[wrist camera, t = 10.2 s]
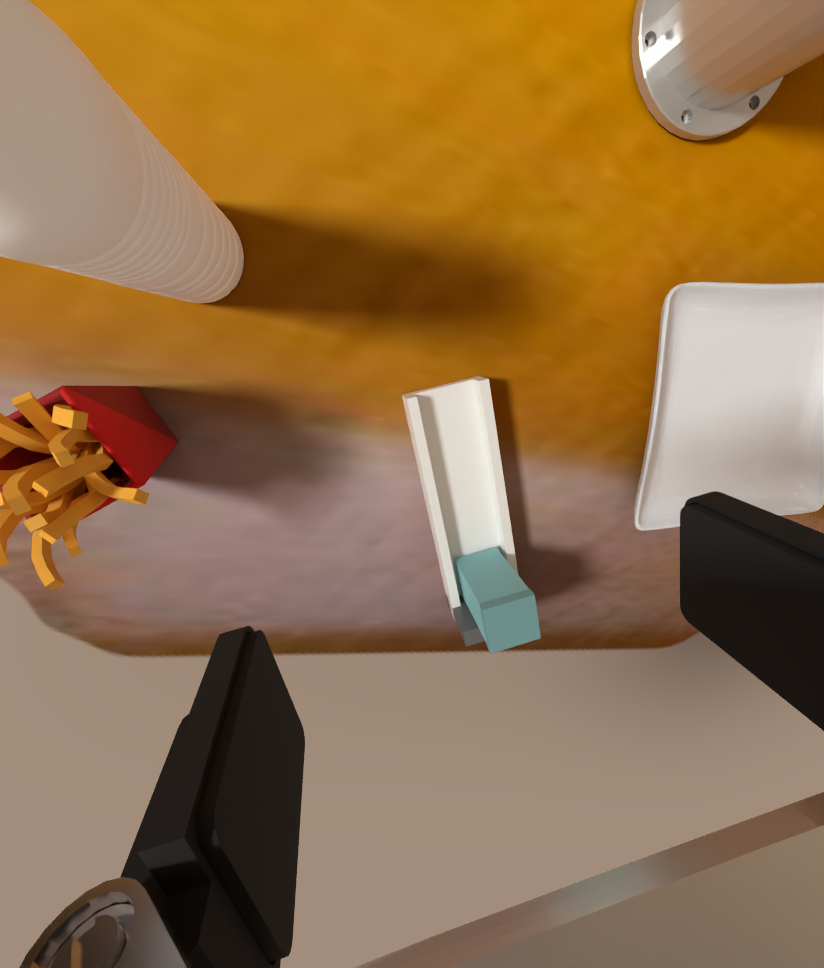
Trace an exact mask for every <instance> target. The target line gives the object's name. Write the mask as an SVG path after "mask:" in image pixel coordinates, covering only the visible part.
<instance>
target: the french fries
mask: <svg viewBox="0 0 824 968" xmlns="http://www.w3.org/2000/svg"><path fill="white" fill-rule="evenodd" d="M11 400H12V402H13V404H14V406H15V407H16V408H17V409H18V411H16V412H14V413H12V414H11V415H9V416H7V417H6V416H4V415H2V414H0V492H1V493H0V509H3V510H2V511H1V512H0V567H2V566H5V565H8V564H9V560H8V557H7V554H6V546H7V540H8V538H9V537H10V535H11V534H12V532H13V530H14V529H15V527H16V526H17V525H18V524H19V522H20V521H21V520H22V519H23V517H24V516H25V517H26V518H27V519H28V520H26V521H24V522H23V523H24V524H25V525H26V527H27V528H28V529H29V531H30V532H33V537H32V561H33V563H34V566H35V568H36V571H37V574H38V575H39V577H40V579H41V580H42V582H43V584H44V585H45V587H47V588H50V589H53V590H57V589H58V588H59V587H61V586H62V585H63V584H65V583H64V581H63V580H62V578H61V577H60V575H59V574H58V572H57V570H56V568H55V565H54V563H53V560H52V555H51V544H53V543H54V542H56V541H57V540H58V539H59V538H60V537H61V536H62V535H63V539H64V541H65V544H66V546H67V549H68V551H69V553H70V555H71V557H74V556H77V555H80V554H82V551H81V549H80V547H79V545H78V543H77V538H76V533H75V532H76V528H77V525H78V522H79V521H80V520H82V519H84V518H85V517H87V516H89V515H91V514H93V513H94V512H96V511H98V510H100V509H102V508H103V507H105V506H107V505H109V504H111V503H112V502H114V501H116V500H122V501H125V502H129V503H137V504H144V505H145V504H146V501H147V499H148V496H149V494H148V493H146V492H144V491H141V490H139V489H138V488H139V487H141V486H143V485H144V484H145V483H146V482H147V481H148V479H149V478H150V477H151V476H152V474H153V473H154V472H155V471H156V469H157V468H158V467H159V466H160V465H161V463H162V462H163V461H164V460H165V458H166V457H167V456H168V455H169V453H170V452H171V451H172V450H173V448H174V447H175V446H176V445H177V443H178V440H177V439H176V438H175V436H174V435H173V434H172V432H171V431H170V430H169V428H168V427H167V426H166V425H165V423H164V422H163V421H162V419H161V418H160V417H159V415H158V414H157V413H156V411H155V410H154V409H153V407H152V406H151V405H150V403H149V402H148V401H147V400H146V398H145V397H144V396H143V394H142V393H141V392H140V390H139V389H138V388H137V386H61V387H59V388H58V389H56V390H54V391H52V392H50V393H49V394H47V395H45V396H43V397H41V398H40V399H38V400H37V399H36V398H35V397H34V396H33V395H32V394H31V393H30V392H27V393H25V394H22V395H20V396H17V397H15V398H12V399H11Z"/></svg>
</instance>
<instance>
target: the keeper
mask: <svg viewBox="0 0 824 968" xmlns="http://www.w3.org/2000/svg"><path fill="white" fill-rule="evenodd" d="M455 564H456V569H457V574H458V578H459V583H460V588H461V593H462V596H463V598H464V600H465V602H466V604H467V606H468V608H469V610H470V612H471V614H472V616H473V618H474V620H475V622H476V624H477V626H478V628H479V630H480V632H481V634H482V636H483V638H484V639H485V641H486V643H487V647H488V649H489V651H490V653H495V652H498V651H501V650H504V649H508V648H511V647H514V646H517V645H520V644H524V643H527V642H530V641H533V640H537V639H540V638H541V637H540V630H539V622H538V615H537V608H536V601H535V594H534V593H533V592H532V591H531V589H529V588H528V587H527V586H526V584H525V583H524V582H523V581H522V579H521V578H520V577H519V575H518V574H517V573H516V572H515V570H514V569H513V568H512V567H511V565H510V564H509V563H508V561H507V560H506V559H505V558H504V556H503V555H502V554H501V553H500V551H499V550H498V549H497V547H494V548H490V549H487V550H483V551H480V552H476V553H473V554H469V555H466V556H462V557H459V558H455Z"/></svg>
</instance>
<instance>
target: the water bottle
mask: <svg viewBox="0 0 824 968" xmlns="http://www.w3.org/2000/svg"><path fill="white" fill-rule="evenodd" d="M0 257H4V258H9V259H13V260H18V261H22V262H27V263H32V264H38V265H42V266H47V267H51V268H55V269H59V270H63V271H67V272H71V273H75V274H79V275H83V276H87V277H91V278H96V279H100V280H104V281H107V282H110V283H113V284H117V285H121V286H125V287H130V288H134V289H138V290H142V291H147V292H150V293H154V294H159V295H163V296H167V297H171V298H175V299H179V300H182V301H187V302H192V303H210V302H215V301H218V300H220V299H222V298H224V297H225V296H227V295H228V294H229V293H230V292H231V291H232V290H233V289H234V288H235V287H236V285H237V284H238V282H239V280H240V278H241V275H242V271H243V261H244V254H243V248H242V244H241V241H240V238H239V236H238V234H237V232H236V230H235V228H234V226H233V225H232V223H231V222H230V221H229V219H228V218H227V217H226V216H225V215H224V214H223V212H222V211H221V210H220V209H219V208H218V207H217V206H216V205H215V204H214V203H213V202H212V201H211V199H210V198H209V197H208V196H207V194H206V193H205V192H204V191H203V190H202V189H201V188H200V187H199V185H198V184H197V183H196V182H195V181H194V180H193V179H192V178H191V176H190V175H189V174H188V173H187V172H186V171H185V169H184V168H183V167H182V166H181V165H180V164H179V163H178V161H177V160H176V159H175V158H174V157H173V156H172V154H171V153H170V152H169V151H168V150H167V149H166V148H165V147H164V146H163V145H162V144H161V143H160V142H159V141H158V140H157V139H156V137H155V136H154V135H153V134H152V133H151V132H150V131H149V129H148V128H147V127H146V126H145V125H144V124H143V123H142V122H141V120H140V119H139V118H138V117H137V116H136V115H135V114H134V112H133V111H132V110H131V109H130V108H129V107H128V106H127V105H126V103H125V102H124V101H123V100H122V99H121V98H120V97H119V95H118V94H117V93H116V92H115V91H114V90H113V89H112V87H111V86H110V85H109V84H108V83H107V82H106V81H105V80H104V79H103V78H102V76H101V75H100V74H99V72H98V71H97V70H96V68H95V67H94V66H93V65H92V63H91V62H90V61H89V60H88V58H87V57H86V56H85V55H84V54H83V53H82V51H81V50H80V49H79V48H78V47H77V46H76V45H75V44H74V42H73V41H72V40H71V39H70V38H69V37H68V36H67V35H66V34H65V33H64V32H63V31H62V30H61V29H60V28H59V27H58V26H57V25H56V24H55V23H54V22H53V21H52V20H51V19H50V18H49V17H48V16H46V15H45V14H44V13H43V12H42V11H41V10H40V9H38V8H37V7H36V6H35V5H33V4H32V3H31V2H30V1H28V0H0Z"/></svg>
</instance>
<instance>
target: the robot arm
mask: <svg viewBox="0 0 824 968" xmlns="http://www.w3.org/2000/svg"><path fill="white" fill-rule="evenodd" d="M823 53H824V0H638V1H637V5H636V9H635V14H634V21H633V28H632V60H633V67H634V75H635V78H636V81H637V85H638V88H639V92H640V94H641V96H642V98H643V100H644V102H645V104H646V106H647V108H648V110H649V111H650V113H651V114H652V115H653V116H654V118H655V119H656V120H657V122H658V123H659V124H661V125H662V126H663V127H664V128H666V129H667V130H668V131H669V132H671V133H673V134H675V135H677V136H679V137H681V138H685V139H690V140H696V141H697V140H710V139H713V138H716V137H719V136H722V135H725V134H727V133H729V132H731V131H733V130H735V129H737V128H739V127H741V126H742V125H743V124H745V123H746V122H748V121H749V120H750V119H752V118H753V117H754V116H755V115H756V114H757V113H758V112H759V111H760V110H761V109H762V108H763V107H764V106H765V105H766V104H767V103H768V101H769V100H770V99H771V97H772V96H773V94H774V93H775V92H776V90H777V89H778V87H779V85H780V83H781V82H782V80H783V78H784V76H785V75H786V74H788V73H790V72H792V71H793V70H795V69H797V68H799V67H800V66H802V65H804V64H806V63H807V62H809V61H811V60H813V59H814V58H816V57H818V56H820V55H821V54H823ZM680 607H681V611H682V614H683V615H684V617H685V619H686V620H687V621H688V622H689V623H690V624H691V625H693V626H694V627H695V628H696V629H698V630H699V631H700V632H701V633H703V634H704V635H705V636H706V637H708V638H709V639H710V640H711V641H713V642H714V643H715V644H716V645H717V646H719V647H720V648H721V649H723V650H724V651H725V652H726V653H728V654H729V655H730V656H731V657H732V658H734V659H735V660H736V661H737V662H739V663H740V664H741V665H742V666H744V667H745V668H746V669H747V670H749V671H750V672H751V673H752V674H754V675H755V676H756V677H757V678H759V679H760V680H761V681H762V682H764V683H765V684H766V685H767V686H769V687H770V688H771V689H772V690H774V691H775V692H776V693H778V694H779V695H780V696H781V697H782V698H784V699H785V700H786V701H787V702H789V703H790V704H791V705H792V706H794V707H795V708H796V709H797V710H798V711H800V712H801V713H802V714H803V715H805V716H806V717H807V718H808V719H810V720H811V721H812V722H813V723H815V724H816V725H817V726H818V727H820V728H821V729H822V730H823V731H824V534H823V533H821V532H818V531H816V530H813V529H811V528H808V527H806V526H803V525H801V524H798V523H796V522H793V521H791V520H789V519H786V518H784V517H781V516H779V515H776V514H774V513H771V512H769V511H766V510H764V509H761V508H759V507H756V506H754V505H751V504H749V503H746V502H744V501H741V500H739V499H736V498H734V497H731V496H729V495H726V494H724V493H721V492H717V491H714V492H709V493H706V494H702V495H699V496H695V497H692V498H689V499H688V500H687V501H686V503H685V506H684V507H683V508H682V509H681V511H680ZM304 749H305V737H304V731H303V727H302V724H301V721H300V719H299V717H298V714H297V712H296V710H295V707H294V705H293V702H292V700H291V698H290V695H289V693H288V690H287V688H286V685H285V683H284V681H283V678H282V676H281V673H280V671H279V669H278V666H277V664H276V661H275V659H274V656H273V654H272V652H271V649H270V647H269V644H268V642H267V640H266V637H265V635H264V633H263V632H262V631H261V630H258V631H255V632H254V630H253V629H252V628H251V627H250V626H246V627H243V628H239V629H236V630H232V631H229V632H226V633H222V634H220V635H219V637H218V638H217V641H216V644H215V646H214V649H213V652H212V654H211V657H210V660H209V663H208V665H207V668H206V671H205V673H204V676H203V679H202V681H201V684H200V687H199V689H198V692H197V695H196V698H195V700H194V703H193V705H192V708H191V711H190V713H189V714H188V715H187V716H186V717H185V718H183V720H182V722H181V724H180V725H179V728H178V730H177V733H176V735H175V738H174V741H173V744H172V746H171V748H170V751H169V754H168V756H167V758H166V761H165V764H164V766H163V769H162V771H161V774H160V777H159V779H158V782H157V784H156V787H155V790H154V792H153V795H152V797H151V800H150V803H149V805H148V808H147V810H146V813H145V815H144V818H143V820H142V823H141V825H140V828H139V831H138V833H137V836H136V838H135V841H134V843H133V846H132V849H131V851H130V854H129V856H128V859H127V861H126V864H125V867H124V869H123V872H122V874H121V877H120V878H117V879H113V880H108V881H105V882H103V883H101V884H99V885H97V886H96V887H94V888H92V889H90V890H88V891H86V892H85V893H84V894H82V895H81V896H80V897H79V898H77V899H76V900H75V901H74V902H72V903H71V904H70V905H68V906H67V907H66V908H65V909H64V910H63V911H62V912H61V913H60V914H59V915H58V916H57V917H56V918H55V919H54V920H53V921H52V923H51V924H49V925H48V927H47V928H46V929H45V930H44V931H43V933H42V934H41V935H40V937H39V938H38V939H37V941H36V942H35V943H34V945H33V946H32V947H31V949H30V950H29V952H28V953H27V954H26V956H25V958H24V960H23V962H22V964H21V965H20V967H19V968H280V960H281V958H284V957H287V956H289V954H290V951H291V947H292V939H293V924H294V908H295V892H296V891H295V890H296V877H297V876H296V875H297V860H298V845H299V829H300V814H301V798H302V782H303V781H302V780H303V765H304V751H305V750H304ZM355 968H824V792H823V793H820V794H817V795H814V796H812V797H809V798H806V799H803V800H801V801H798V802H795V803H792V804H790V805H787V806H784V807H782V808H779V809H776V810H773V811H771V812H768V813H765V814H762V815H760V816H757V817H754V818H751V819H749V820H746V821H743V822H740V823H738V824H735V825H732V826H729V827H727V828H724V829H721V830H719V831H716V832H713V833H710V834H708V835H705V836H702V837H699V838H697V839H694V840H691V841H689V842H686V843H683V844H680V845H678V846H675V847H672V848H670V849H667V850H664V851H661V852H659V853H656V854H653V855H650V856H648V857H645V858H642V859H640V860H637V861H634V862H631V863H629V864H626V865H623V866H620V867H618V868H615V869H612V870H610V871H607V872H604V873H602V874H599V875H596V876H594V877H591V878H588V879H586V880H583V881H580V882H578V883H575V884H572V885H569V886H567V887H564V888H561V889H559V890H556V891H553V892H551V893H548V894H546V895H543V896H540V897H537V898H535V899H532V900H529V901H527V902H524V903H522V904H519V905H516V906H513V907H511V908H508V909H505V910H503V911H500V912H497V913H495V914H492V915H489V916H487V917H484V918H481V919H478V920H476V921H473V922H470V923H468V924H465V925H462V926H460V927H457V928H455V929H452V930H449V931H446V932H444V933H441V934H439V935H436V936H433V937H430V938H428V939H425V940H423V941H420V942H418V943H415V944H413V945H410V946H408V947H405V948H403V949H400V950H398V951H395V952H393V953H390V954H388V955H385V956H383V957H380V958H377V959H375V960H373V961H370V962H367V963H365V964H362V965H360V966H357V967H355Z"/></svg>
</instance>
